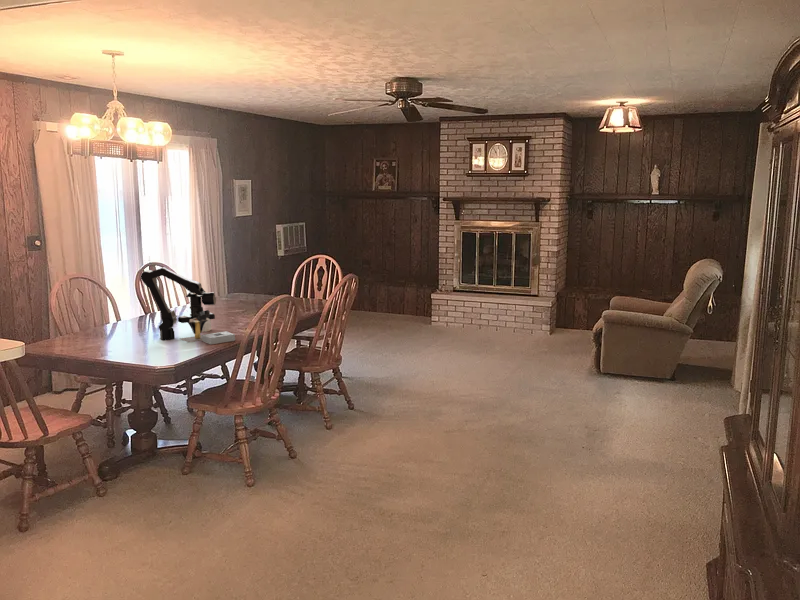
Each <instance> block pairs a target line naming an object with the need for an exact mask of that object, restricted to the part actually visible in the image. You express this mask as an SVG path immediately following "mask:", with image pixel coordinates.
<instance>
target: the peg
mask: <svg viewBox="0 0 800 600" xmlns="http://www.w3.org/2000/svg"><path fill="white" fill-rule="evenodd" d="M194 336H195V338H196V339H198V338H201V333H200V321H195V334H194Z"/></svg>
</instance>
